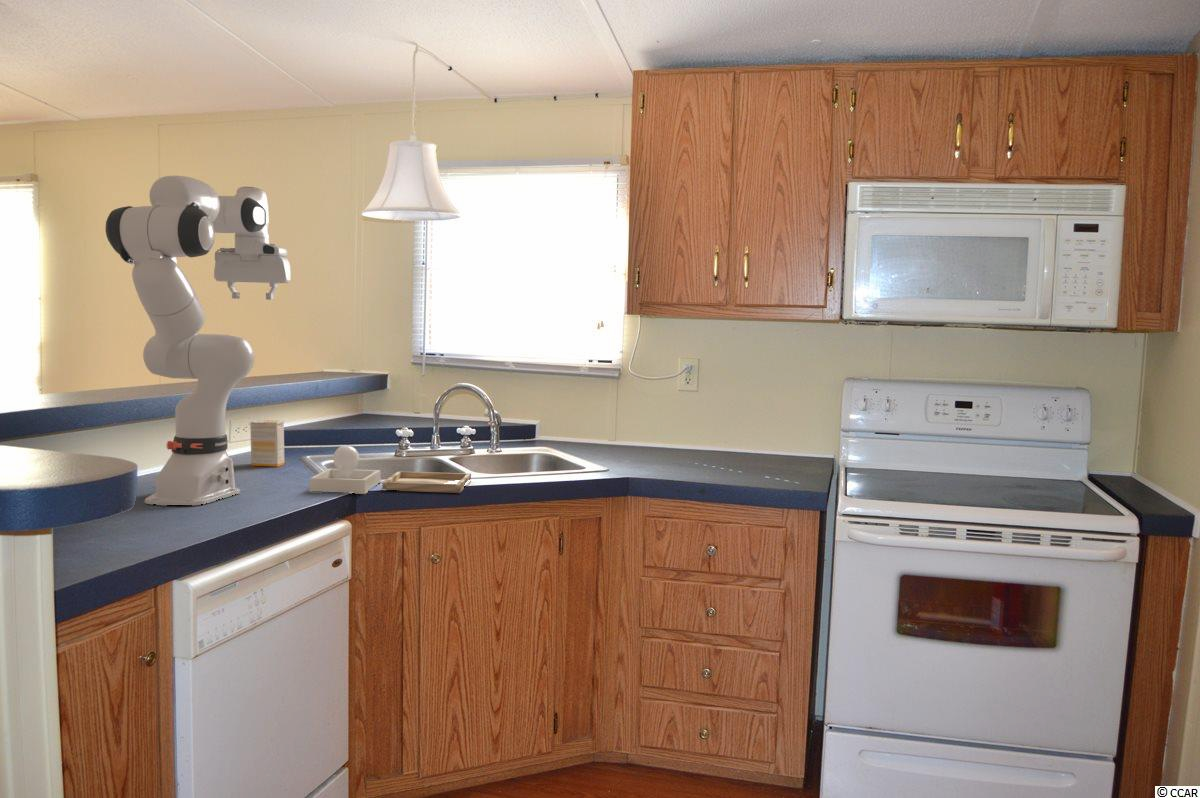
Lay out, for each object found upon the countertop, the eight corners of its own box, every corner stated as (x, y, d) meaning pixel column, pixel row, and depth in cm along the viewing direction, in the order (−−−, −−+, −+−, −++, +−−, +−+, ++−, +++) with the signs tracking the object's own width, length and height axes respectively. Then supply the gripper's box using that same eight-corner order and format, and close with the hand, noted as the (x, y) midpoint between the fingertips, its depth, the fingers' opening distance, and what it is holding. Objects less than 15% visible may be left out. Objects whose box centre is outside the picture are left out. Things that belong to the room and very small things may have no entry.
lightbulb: (349, 484, 229) (349, 442, 228) (363, 487, 225) (364, 445, 224) (328, 487, 224) (328, 445, 223) (342, 491, 220) (342, 448, 219)
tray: (460, 492, 222) (460, 484, 221) (382, 490, 222) (382, 482, 222) (470, 481, 238) (471, 473, 237) (398, 478, 238) (398, 471, 238)
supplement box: (285, 464, 255) (284, 420, 254) (277, 467, 250) (277, 422, 249) (258, 463, 256) (257, 419, 254) (250, 466, 251) (249, 421, 250)
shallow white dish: (365, 493, 217) (365, 480, 217) (309, 492, 217) (309, 478, 217) (380, 483, 231) (380, 470, 231) (328, 481, 231) (328, 468, 231)
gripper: (209, 246, 235) (210, 297, 236) (284, 248, 234) (284, 300, 236) (220, 248, 241) (220, 298, 242) (292, 250, 241) (293, 300, 242)
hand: (252, 299), depth 239 cm, fingers open, 8 cm apart
